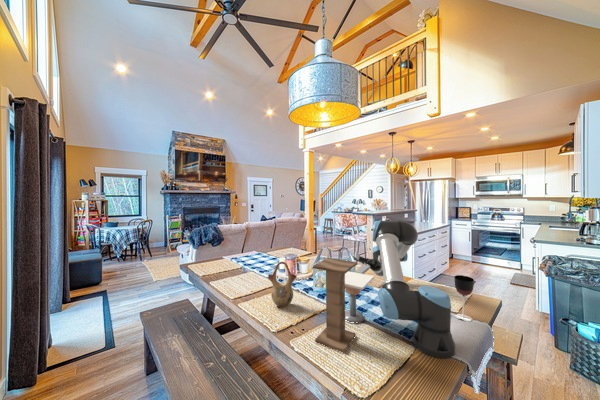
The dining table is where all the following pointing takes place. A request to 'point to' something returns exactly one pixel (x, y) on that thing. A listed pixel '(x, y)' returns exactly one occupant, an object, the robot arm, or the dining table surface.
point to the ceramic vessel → (282, 288)
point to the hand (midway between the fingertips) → (366, 256)
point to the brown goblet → (353, 306)
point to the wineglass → (464, 289)
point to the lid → (358, 278)
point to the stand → (335, 304)
